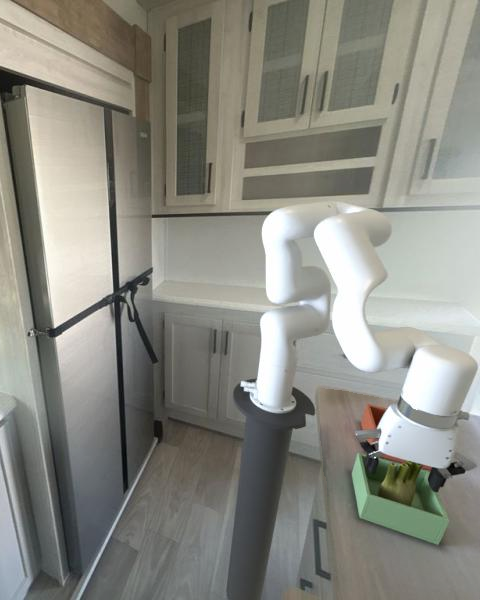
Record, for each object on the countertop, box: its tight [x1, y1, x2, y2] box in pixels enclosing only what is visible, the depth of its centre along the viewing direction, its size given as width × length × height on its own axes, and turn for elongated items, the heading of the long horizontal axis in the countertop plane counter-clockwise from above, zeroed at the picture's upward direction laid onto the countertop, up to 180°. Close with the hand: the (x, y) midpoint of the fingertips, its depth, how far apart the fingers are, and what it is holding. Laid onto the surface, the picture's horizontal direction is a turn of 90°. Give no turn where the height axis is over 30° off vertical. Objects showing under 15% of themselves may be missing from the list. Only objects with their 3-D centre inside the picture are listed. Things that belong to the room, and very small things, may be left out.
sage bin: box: [351, 452, 451, 546], centre depth 69 cm, size 12×12×7 cm
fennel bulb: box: [378, 460, 423, 507], centre depth 67 cm, size 6×5×12 cm
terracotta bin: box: [360, 403, 432, 471], centre depth 82 cm, size 11×11×7 cm
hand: (400, 476), depth 67 cm, fingers open, 8 cm apart
